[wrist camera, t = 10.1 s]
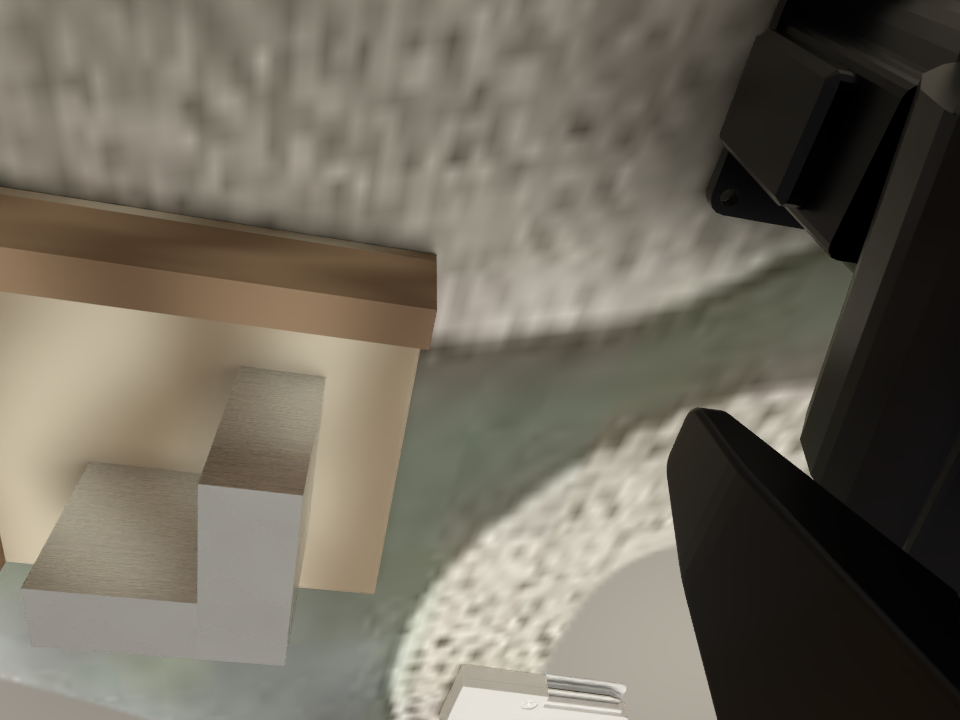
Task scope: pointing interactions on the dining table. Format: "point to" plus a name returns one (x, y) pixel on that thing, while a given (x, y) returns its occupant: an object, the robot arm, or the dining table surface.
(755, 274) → the dining table surface
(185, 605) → the bracket
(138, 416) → the arena
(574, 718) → the corner connector
